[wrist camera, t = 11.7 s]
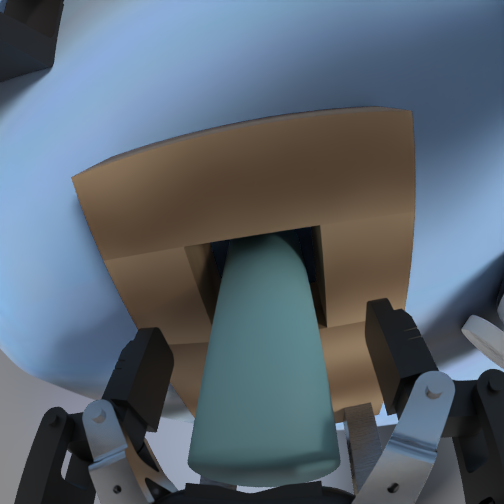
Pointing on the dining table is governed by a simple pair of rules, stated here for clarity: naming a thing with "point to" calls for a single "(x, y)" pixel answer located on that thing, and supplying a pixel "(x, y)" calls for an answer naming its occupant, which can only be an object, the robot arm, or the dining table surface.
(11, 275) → the dining table surface
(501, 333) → the spread jar
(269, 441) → the peg
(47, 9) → the phone stand
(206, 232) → the sheltered socket
